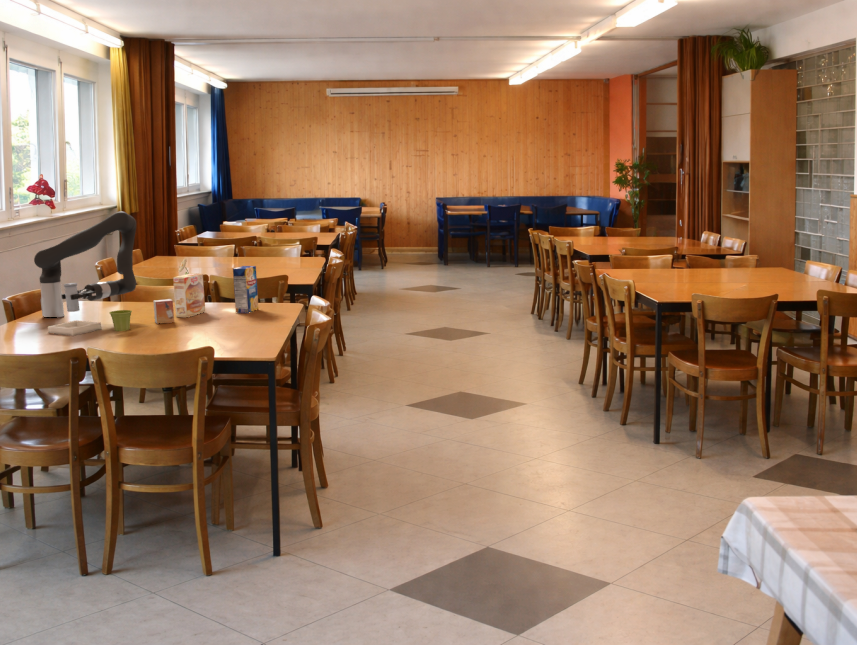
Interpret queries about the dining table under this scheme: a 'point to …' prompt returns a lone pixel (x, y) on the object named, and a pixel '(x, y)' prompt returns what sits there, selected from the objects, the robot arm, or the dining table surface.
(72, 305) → the canister
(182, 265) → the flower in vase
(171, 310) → the small box
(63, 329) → the dish
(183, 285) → the coffeecake box
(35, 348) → the dining table surface
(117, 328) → the plant pot
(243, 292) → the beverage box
